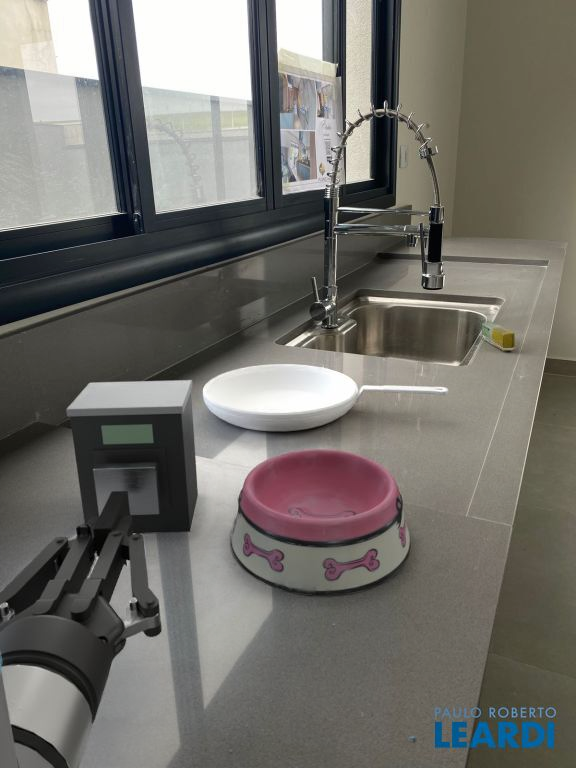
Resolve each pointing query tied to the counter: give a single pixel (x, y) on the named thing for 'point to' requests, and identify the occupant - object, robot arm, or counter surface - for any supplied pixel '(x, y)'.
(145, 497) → the push plate
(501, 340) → the medication box
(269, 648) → the counter surface
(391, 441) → the counter surface
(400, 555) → the dog bowl
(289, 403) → the pan
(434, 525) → the counter surface
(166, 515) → the dispenser
